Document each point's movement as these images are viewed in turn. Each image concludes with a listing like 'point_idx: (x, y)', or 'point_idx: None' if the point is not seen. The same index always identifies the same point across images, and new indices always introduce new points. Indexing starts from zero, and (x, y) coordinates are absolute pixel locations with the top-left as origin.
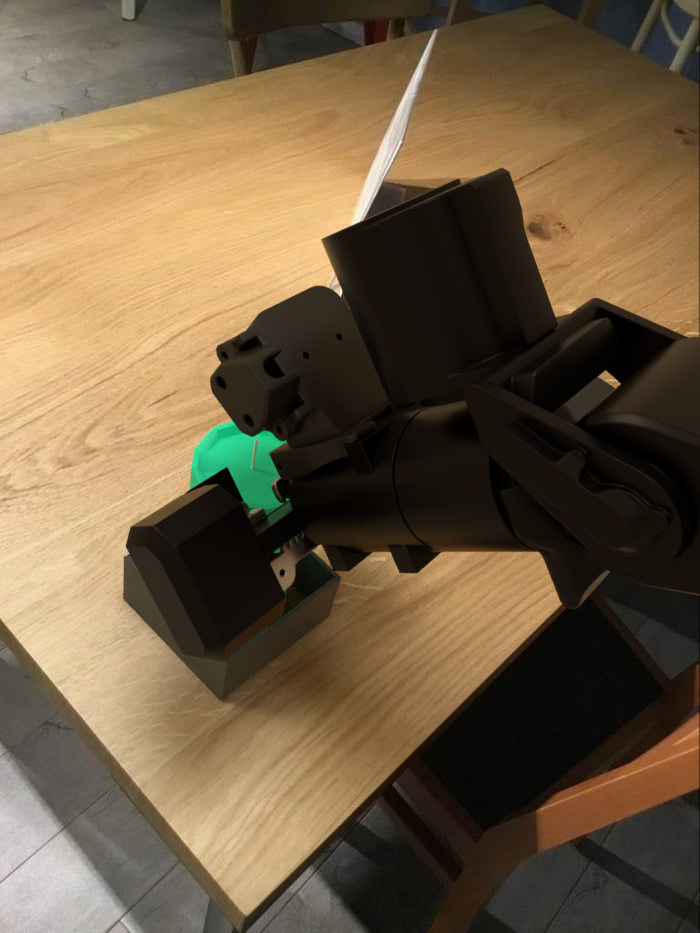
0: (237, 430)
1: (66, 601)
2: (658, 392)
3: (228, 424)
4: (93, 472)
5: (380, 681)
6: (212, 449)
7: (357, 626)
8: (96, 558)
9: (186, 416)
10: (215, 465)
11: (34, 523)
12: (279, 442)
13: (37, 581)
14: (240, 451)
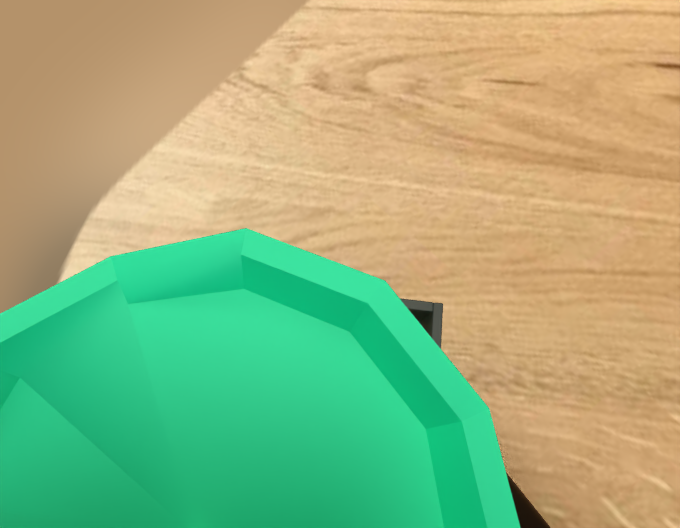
0: (330, 312)
1: (149, 246)
2: None
3: (308, 265)
4: (337, 115)
5: None
6: (173, 308)
7: None
8: (230, 222)
9: (515, 125)
10: (97, 387)
11: (218, 128)
12: (443, 505)
13: (150, 197)
14: (247, 409)
